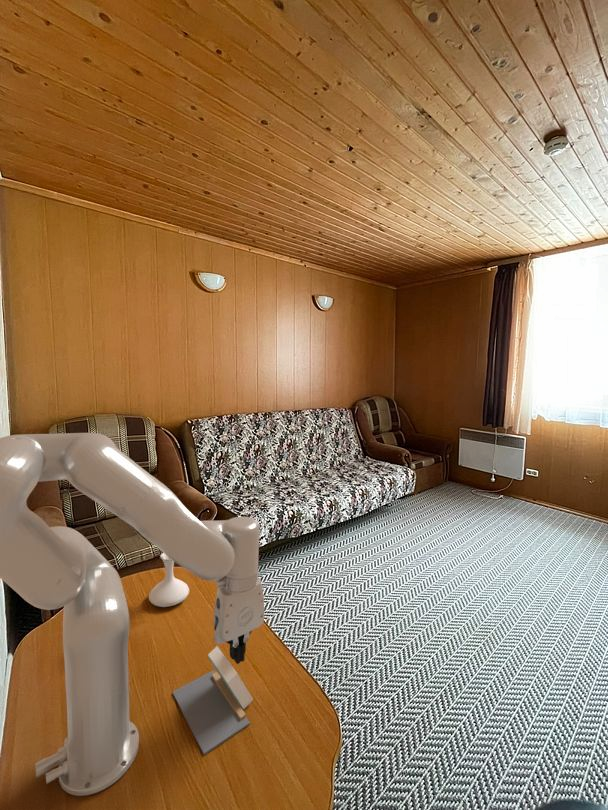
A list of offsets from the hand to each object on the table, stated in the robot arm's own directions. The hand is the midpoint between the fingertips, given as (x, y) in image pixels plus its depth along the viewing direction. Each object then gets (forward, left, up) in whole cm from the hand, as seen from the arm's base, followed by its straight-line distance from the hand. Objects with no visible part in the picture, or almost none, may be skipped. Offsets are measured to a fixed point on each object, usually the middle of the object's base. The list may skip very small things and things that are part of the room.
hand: (237, 658), depth 79 cm
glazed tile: (0, 0, -7) cm, 7 cm away
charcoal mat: (-6, 0, -8) cm, 10 cm away
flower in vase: (0, +40, -8) cm, 41 cm away
